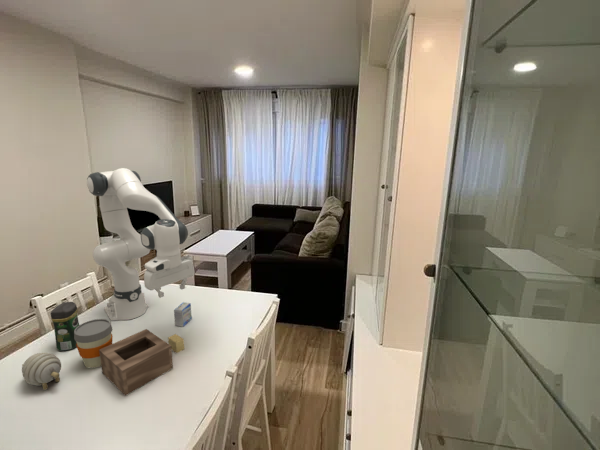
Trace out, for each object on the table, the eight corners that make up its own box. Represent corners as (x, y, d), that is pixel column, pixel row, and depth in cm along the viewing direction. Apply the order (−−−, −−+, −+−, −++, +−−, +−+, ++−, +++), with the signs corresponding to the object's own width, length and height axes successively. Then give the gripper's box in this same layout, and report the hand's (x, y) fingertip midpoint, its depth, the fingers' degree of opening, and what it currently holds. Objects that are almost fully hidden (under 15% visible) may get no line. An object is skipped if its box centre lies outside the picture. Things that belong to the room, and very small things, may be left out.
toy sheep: (44, 368, 123) (39, 342, 121) (77, 378, 119) (72, 352, 116) (13, 387, 114) (6, 359, 111) (47, 399, 109) (42, 371, 106)
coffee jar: (65, 339, 142) (58, 300, 137) (85, 337, 143) (79, 299, 138) (53, 352, 132) (45, 311, 128) (74, 351, 134) (67, 310, 129)
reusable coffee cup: (76, 375, 120) (70, 339, 117) (80, 355, 131) (75, 322, 127) (115, 365, 126) (110, 331, 122) (116, 347, 137) (112, 315, 133)
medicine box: (183, 327, 153) (182, 310, 151) (174, 325, 154) (173, 309, 152) (191, 318, 161) (191, 302, 159) (183, 317, 162) (182, 301, 160)
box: (102, 373, 122) (99, 349, 119) (148, 350, 136) (146, 328, 133) (125, 395, 111) (122, 370, 109) (172, 368, 125) (171, 345, 123)
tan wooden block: (168, 347, 138) (168, 337, 136) (176, 344, 140) (175, 333, 139) (177, 353, 134) (176, 342, 133) (184, 349, 137) (183, 339, 136)
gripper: (187, 252, 138) (189, 282, 141) (140, 265, 122) (144, 299, 125) (196, 255, 134) (198, 286, 137) (149, 269, 118) (152, 303, 121)
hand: (172, 292), depth 131 cm, fingers open, 8 cm apart
